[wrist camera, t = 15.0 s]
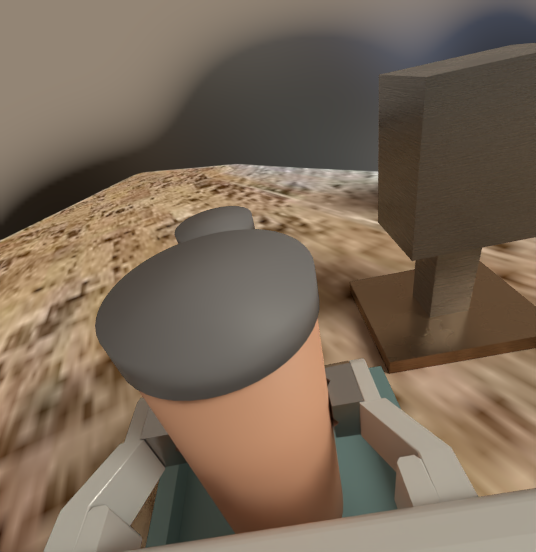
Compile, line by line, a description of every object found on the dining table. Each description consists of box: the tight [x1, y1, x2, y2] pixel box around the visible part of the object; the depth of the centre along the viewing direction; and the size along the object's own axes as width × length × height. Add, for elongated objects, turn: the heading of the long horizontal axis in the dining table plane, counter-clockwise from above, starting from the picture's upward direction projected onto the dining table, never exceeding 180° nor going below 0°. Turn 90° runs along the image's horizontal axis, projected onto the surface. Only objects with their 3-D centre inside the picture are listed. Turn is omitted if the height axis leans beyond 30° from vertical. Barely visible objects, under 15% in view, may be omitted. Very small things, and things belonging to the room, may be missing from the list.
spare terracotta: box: [95, 229, 343, 534], centre depth 11 cm, size 5×5×12 cm
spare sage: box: [175, 206, 255, 244], centre depth 24 cm, size 5×5×12 cm
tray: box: [145, 366, 401, 548], centre depth 16 cm, size 14×14×2 cm
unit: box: [350, 43, 536, 374], centre depth 22 cm, size 12×10×18 cm
